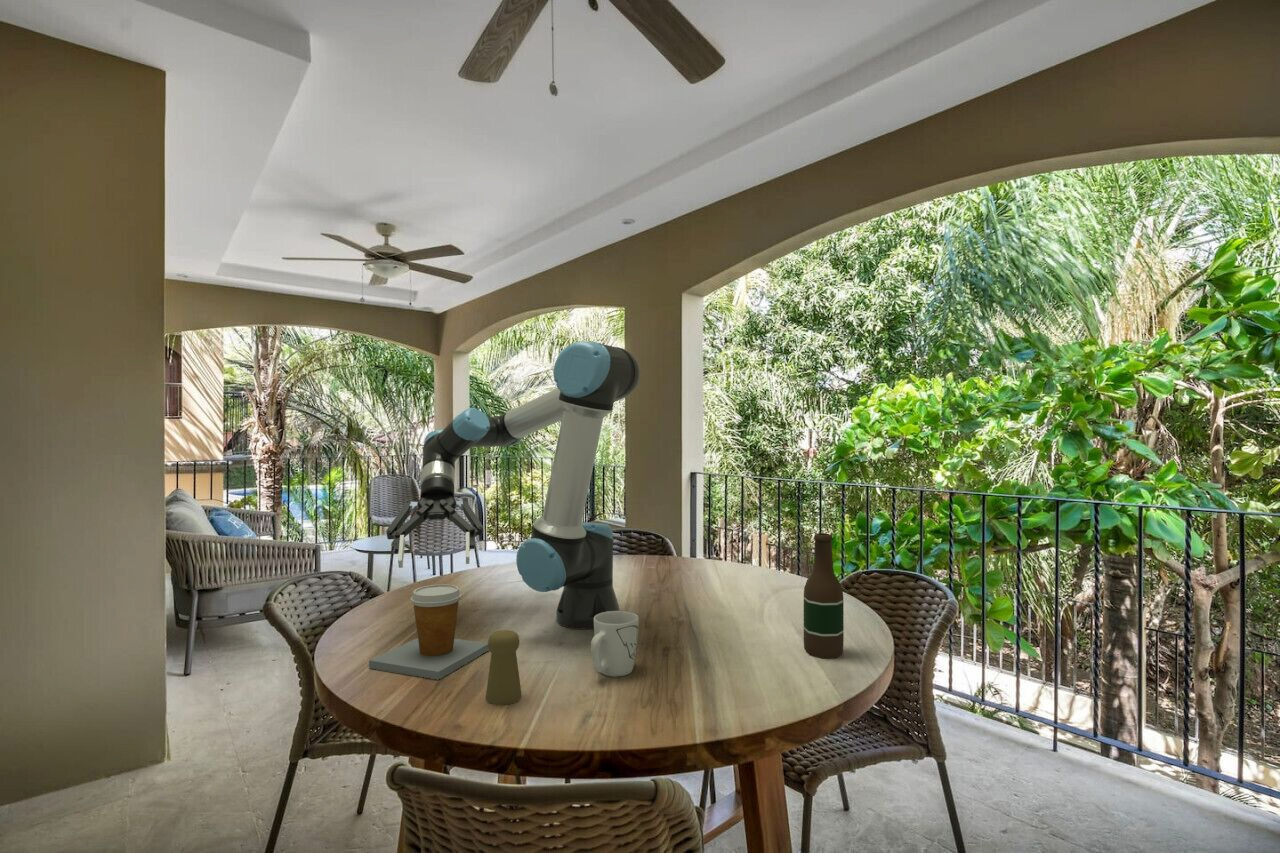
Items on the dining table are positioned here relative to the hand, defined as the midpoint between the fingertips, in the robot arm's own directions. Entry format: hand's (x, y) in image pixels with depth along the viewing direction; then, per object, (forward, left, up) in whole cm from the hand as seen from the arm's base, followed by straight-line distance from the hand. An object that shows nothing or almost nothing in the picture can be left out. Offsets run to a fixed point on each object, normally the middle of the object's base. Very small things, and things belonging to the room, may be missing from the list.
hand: (434, 562), depth 133 cm
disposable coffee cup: (-6, +7, -16) cm, 18 cm away
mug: (-42, +2, -17) cm, 45 cm away
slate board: (-6, +8, -17) cm, 20 cm away
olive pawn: (-29, +18, -17) cm, 38 cm away
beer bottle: (-78, -23, -17) cm, 83 cm away
